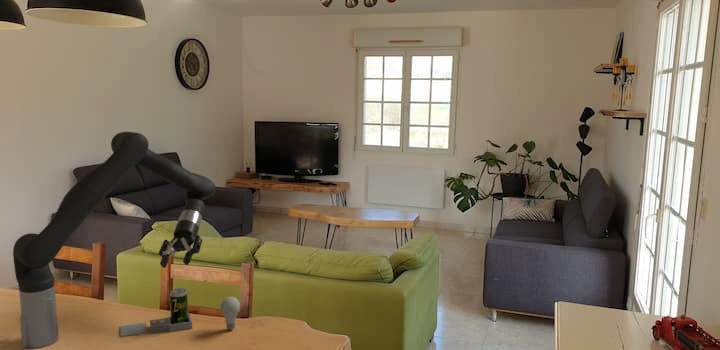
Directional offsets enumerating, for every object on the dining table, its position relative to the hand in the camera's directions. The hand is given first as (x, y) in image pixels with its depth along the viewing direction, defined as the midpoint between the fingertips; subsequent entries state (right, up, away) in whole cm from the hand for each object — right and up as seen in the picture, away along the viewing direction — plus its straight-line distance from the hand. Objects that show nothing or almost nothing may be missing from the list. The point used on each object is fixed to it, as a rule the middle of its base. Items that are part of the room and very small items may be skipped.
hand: (174, 265), depth 180 cm
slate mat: (-12, -20, -4) cm, 24 cm away
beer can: (+2, -20, 0) cm, 20 cm away
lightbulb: (+19, -21, -2) cm, 28 cm away
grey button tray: (-1, -20, -1) cm, 20 cm away
